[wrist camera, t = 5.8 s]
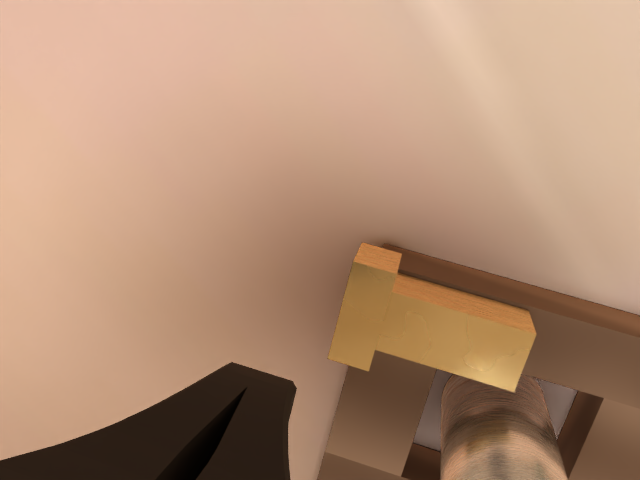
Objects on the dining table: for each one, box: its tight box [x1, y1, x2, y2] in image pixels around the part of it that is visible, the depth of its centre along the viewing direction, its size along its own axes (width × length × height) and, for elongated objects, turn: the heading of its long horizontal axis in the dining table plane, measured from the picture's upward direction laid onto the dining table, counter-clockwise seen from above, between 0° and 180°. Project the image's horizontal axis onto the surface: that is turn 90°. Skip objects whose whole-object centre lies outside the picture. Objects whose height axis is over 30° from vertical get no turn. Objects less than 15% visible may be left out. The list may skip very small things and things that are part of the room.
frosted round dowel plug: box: [440, 373, 568, 480], centre depth 17 cm, size 3×3×7 cm
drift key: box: [327, 243, 536, 392], centre depth 17 cm, size 3×5×2 cm, turn 76°
